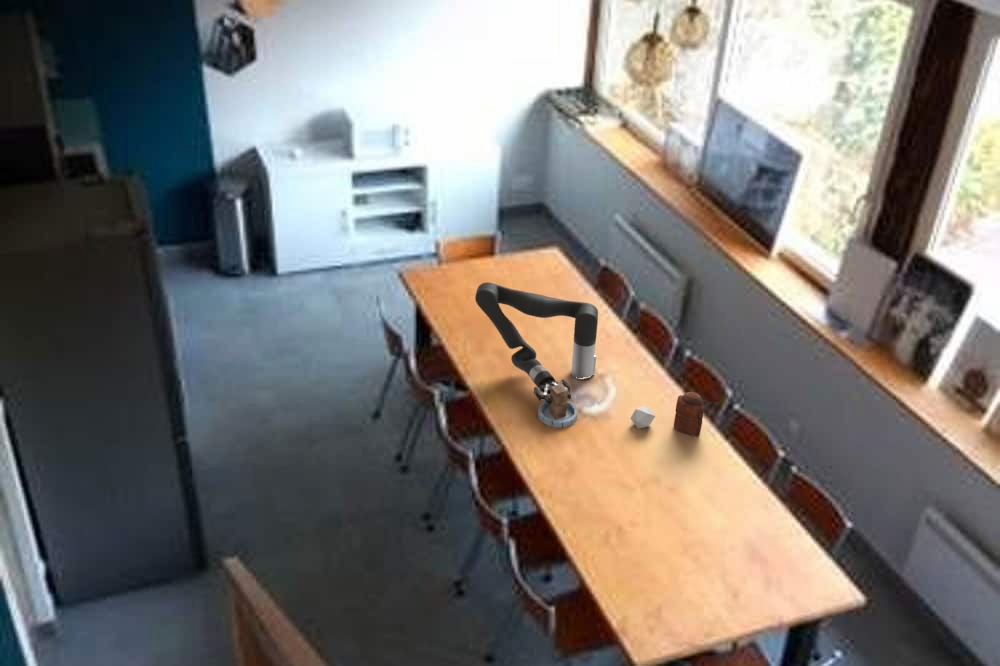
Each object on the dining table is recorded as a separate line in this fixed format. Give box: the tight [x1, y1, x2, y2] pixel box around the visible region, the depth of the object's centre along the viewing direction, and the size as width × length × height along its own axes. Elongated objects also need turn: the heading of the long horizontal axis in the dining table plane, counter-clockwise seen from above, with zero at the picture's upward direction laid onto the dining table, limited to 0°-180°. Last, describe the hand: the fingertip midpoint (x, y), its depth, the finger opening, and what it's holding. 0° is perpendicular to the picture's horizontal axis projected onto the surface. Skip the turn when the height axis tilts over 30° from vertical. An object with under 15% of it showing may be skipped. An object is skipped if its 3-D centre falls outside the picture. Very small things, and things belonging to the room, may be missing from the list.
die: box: [629, 405, 656, 430], centre depth 413 cm, size 8×9×10 cm
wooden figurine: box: [673, 391, 705, 437], centre depth 409 cm, size 12×6×18 cm, turn 61°
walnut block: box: [549, 384, 568, 419], centre depth 415 cm, size 5×5×13 cm
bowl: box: [537, 400, 578, 429], centre depth 419 cm, size 16×16×3 cm
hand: (560, 399), depth 414 cm, fingers open, 8 cm apart
